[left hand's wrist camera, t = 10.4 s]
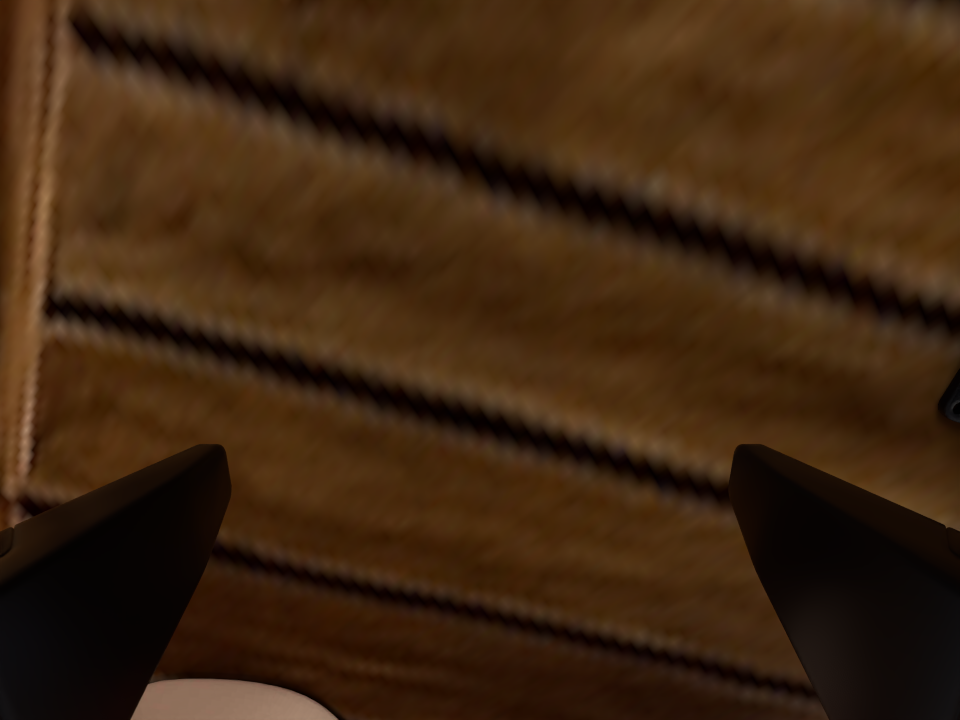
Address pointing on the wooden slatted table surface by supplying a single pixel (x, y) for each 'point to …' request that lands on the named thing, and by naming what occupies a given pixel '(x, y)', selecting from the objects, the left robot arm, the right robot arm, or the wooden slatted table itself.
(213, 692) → the anatomical model
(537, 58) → the wooden slatted table surface
